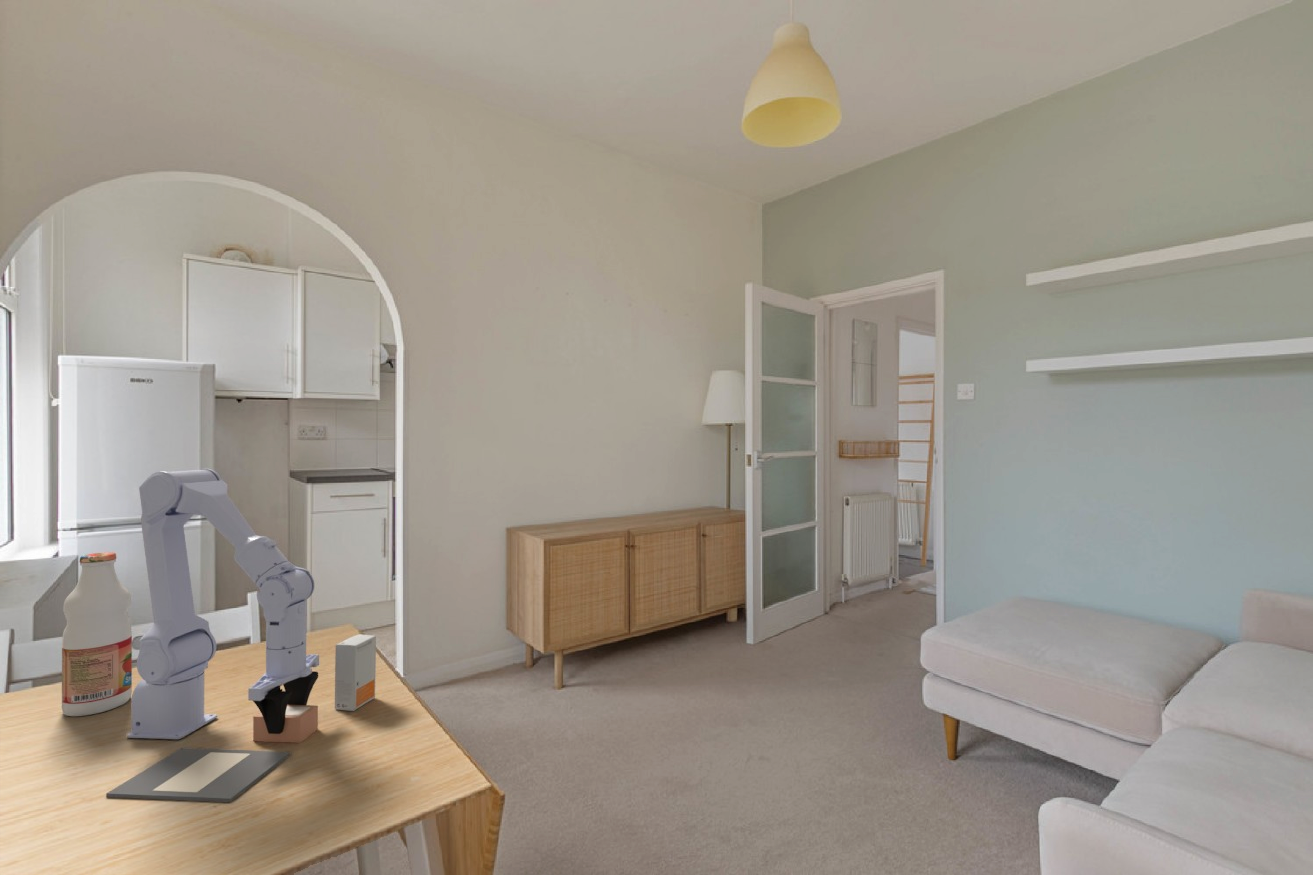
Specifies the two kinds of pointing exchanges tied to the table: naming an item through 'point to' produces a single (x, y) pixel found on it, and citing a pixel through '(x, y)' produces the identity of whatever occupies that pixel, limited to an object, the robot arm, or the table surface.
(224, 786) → the charcoal mat
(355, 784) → the table surface
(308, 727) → the pink box with label
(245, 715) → the table surface
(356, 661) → the skincare box
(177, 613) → the robot arm
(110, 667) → the fruit juice
